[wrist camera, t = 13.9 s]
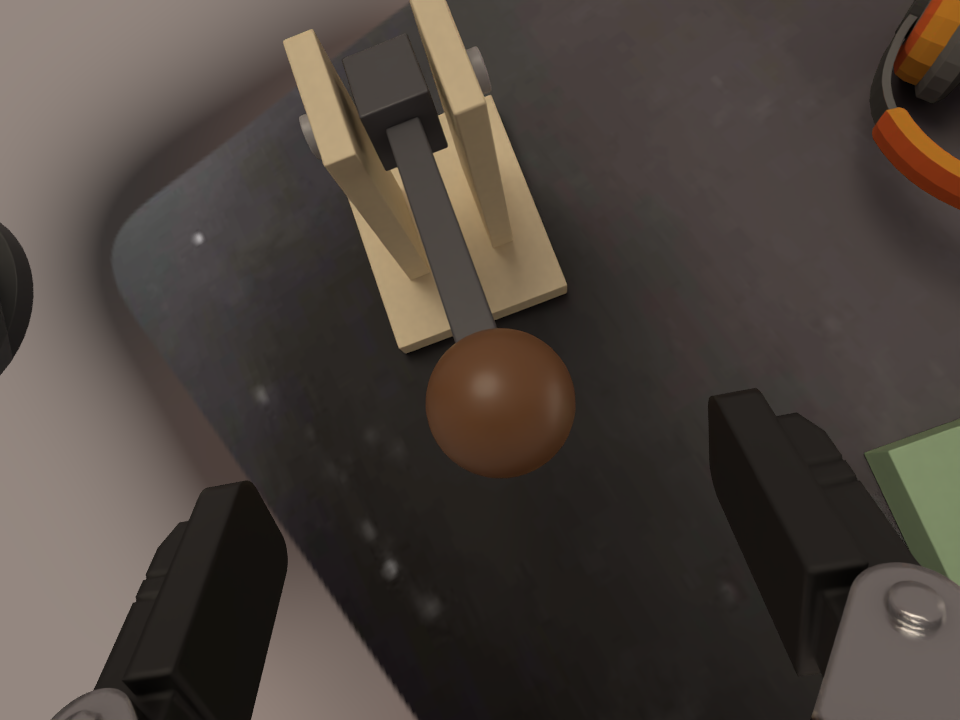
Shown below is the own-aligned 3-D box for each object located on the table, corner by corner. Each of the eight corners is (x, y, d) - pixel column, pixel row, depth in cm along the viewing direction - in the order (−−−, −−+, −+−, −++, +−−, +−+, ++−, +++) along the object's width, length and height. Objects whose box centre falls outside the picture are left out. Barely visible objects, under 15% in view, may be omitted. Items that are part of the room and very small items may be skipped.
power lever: (601, 466, 17) (593, 415, 14) (467, 514, 17) (429, 476, 14) (450, 97, 24) (421, 6, 20) (355, 135, 24) (312, 50, 21)
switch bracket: (567, 293, 31) (572, 168, 19) (405, 354, 31) (303, 272, 19) (493, 108, 33) (453, -117, 21) (342, 168, 33) (212, -17, 21)
